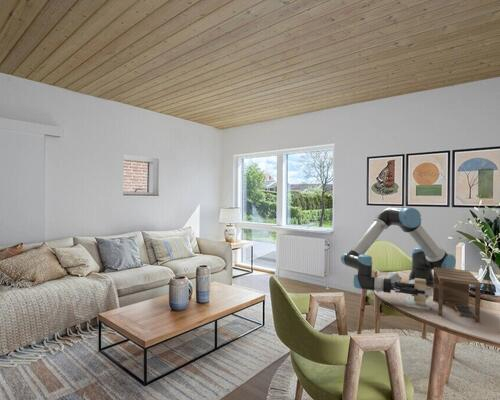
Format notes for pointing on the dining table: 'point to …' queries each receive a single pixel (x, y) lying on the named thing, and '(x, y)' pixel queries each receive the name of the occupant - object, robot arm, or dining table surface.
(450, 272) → the small wooden table
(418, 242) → the robot arm
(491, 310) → the dining table surface
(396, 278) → the grey rock
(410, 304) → the pad
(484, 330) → the dining table surface
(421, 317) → the dining table surface
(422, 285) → the maple block
